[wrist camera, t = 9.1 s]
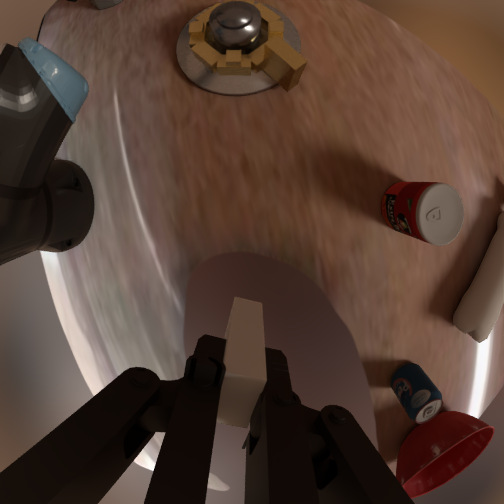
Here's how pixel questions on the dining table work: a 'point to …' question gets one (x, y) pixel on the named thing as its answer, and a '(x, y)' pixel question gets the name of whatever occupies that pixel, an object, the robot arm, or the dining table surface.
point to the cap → (233, 48)
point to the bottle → (484, 291)
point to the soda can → (416, 393)
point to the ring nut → (264, 57)
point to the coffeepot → (102, 3)
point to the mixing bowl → (440, 451)
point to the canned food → (424, 211)
